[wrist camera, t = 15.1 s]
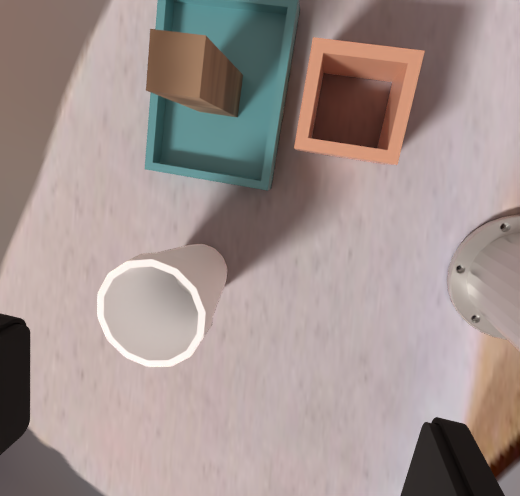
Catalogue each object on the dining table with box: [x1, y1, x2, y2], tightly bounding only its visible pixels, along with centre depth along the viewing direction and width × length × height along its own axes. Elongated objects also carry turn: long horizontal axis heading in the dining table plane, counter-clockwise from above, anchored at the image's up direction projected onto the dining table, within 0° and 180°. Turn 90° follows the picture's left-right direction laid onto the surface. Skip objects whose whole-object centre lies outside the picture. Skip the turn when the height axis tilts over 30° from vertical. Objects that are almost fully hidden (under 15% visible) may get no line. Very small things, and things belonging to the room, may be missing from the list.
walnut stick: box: [146, 29, 243, 117], centre depth 32 cm, size 4×4×12 cm
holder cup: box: [294, 37, 425, 165], centre depth 33 cm, size 8×8×7 cm
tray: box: [145, 0, 300, 190], centre depth 37 cm, size 13×17×2 cm
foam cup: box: [97, 244, 228, 367], centre depth 37 cm, size 10×9×13 cm
